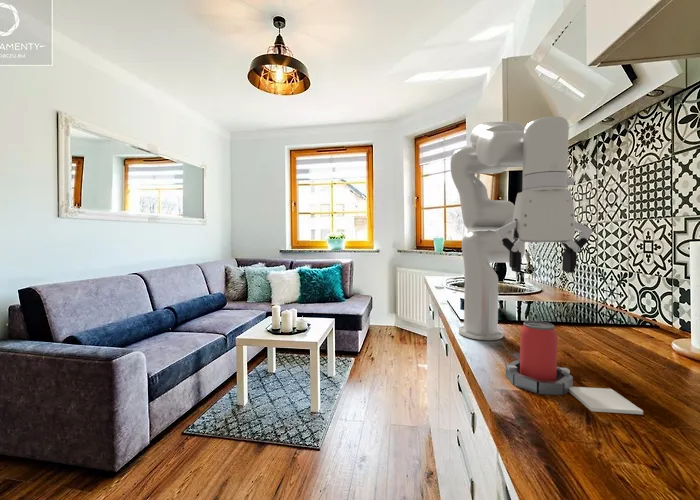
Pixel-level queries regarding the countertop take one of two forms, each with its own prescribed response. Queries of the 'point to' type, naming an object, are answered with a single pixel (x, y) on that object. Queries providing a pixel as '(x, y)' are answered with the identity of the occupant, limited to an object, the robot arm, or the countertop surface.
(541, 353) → the beer can
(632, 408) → the plate
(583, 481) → the countertop surface
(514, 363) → the collar
